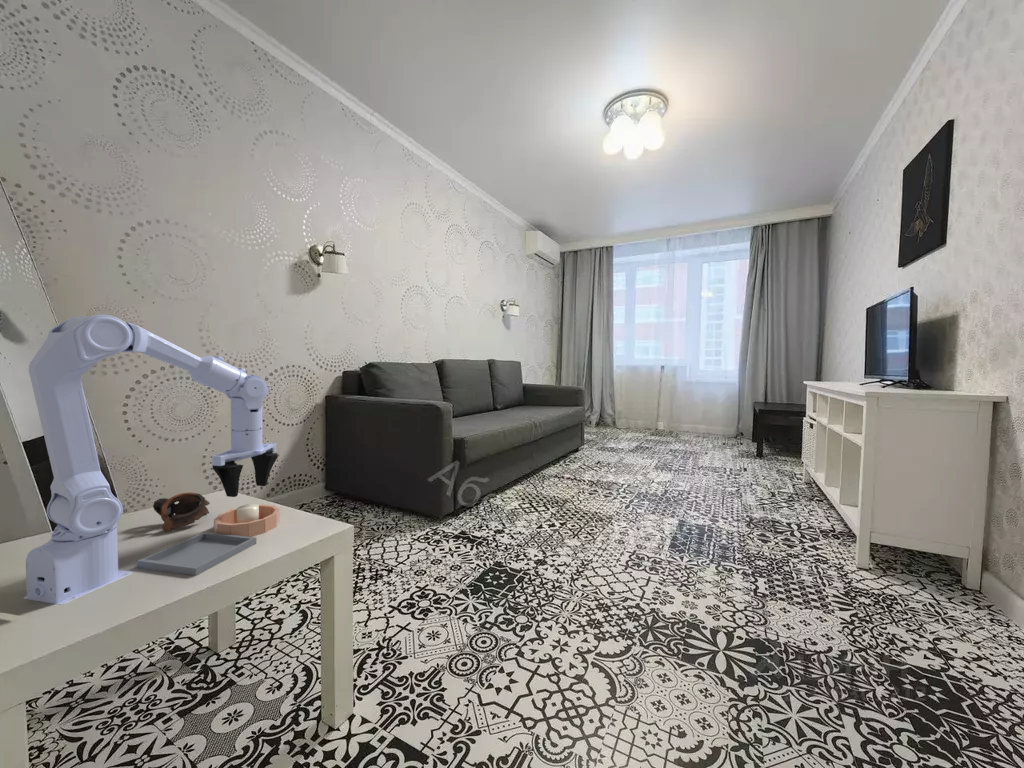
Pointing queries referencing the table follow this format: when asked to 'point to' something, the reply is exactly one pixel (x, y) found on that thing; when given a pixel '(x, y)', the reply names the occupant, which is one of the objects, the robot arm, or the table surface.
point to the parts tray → (197, 553)
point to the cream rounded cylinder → (247, 513)
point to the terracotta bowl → (229, 525)
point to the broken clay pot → (181, 510)
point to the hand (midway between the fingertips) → (247, 490)
